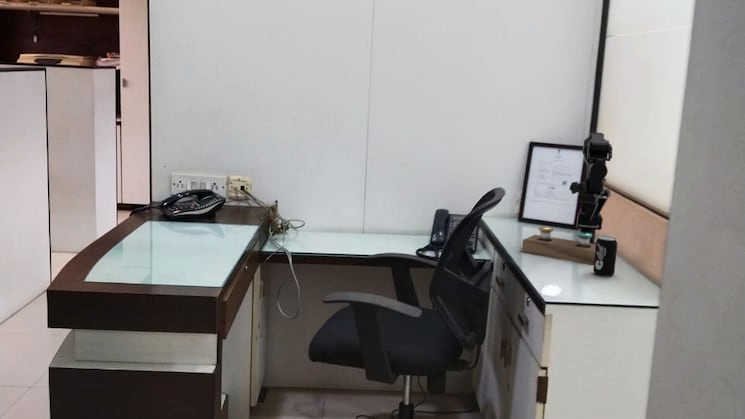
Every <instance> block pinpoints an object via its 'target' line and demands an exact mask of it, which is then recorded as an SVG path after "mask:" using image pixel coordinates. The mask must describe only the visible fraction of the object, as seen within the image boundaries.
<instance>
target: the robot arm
mask: <svg viewBox="0 0 745 419" xmlns="http://www.w3.org/2000/svg"><path fill="white" fill-rule="evenodd" d="M582 155H583V160H584V162H585V164H586V166H587V171H586V177H585V178H584V181H583V182H578V181H574V182H573V181H572V182H571V183H570V185H569V191H570V193H571V194H572V195H574V194H577V193H579V194H578V195H577V202H579V203H580V204H582V205H581V207H580V209H579V212H578V213H577V219H576V229H579V232H588V233H592V237H591V238H590V241H589V243H591V244H596V234H597V233H596V232H597V231H601V230H602V229H603V228H602V226H603V221H604V218H603V216H602V214H601V212H602V211H603V208H604V206H605V204H606V203H607V201H608V200H609V198H610V197H611V191H610V189H609V188H605V186H604V185H605V182H607V178H606V176H607V174H608V171H609V170H608V167H607V162H611V160H612V158H613V146H612V144H611V143H610V141H609V139H608V140H607V139H606V138H605V134H604V133H603V132H594V131H593V132H590V133H589V136H588V137H586V138H585V139H584V140H583V146H582ZM577 241H578V242H579V240H577Z"/></svg>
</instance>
